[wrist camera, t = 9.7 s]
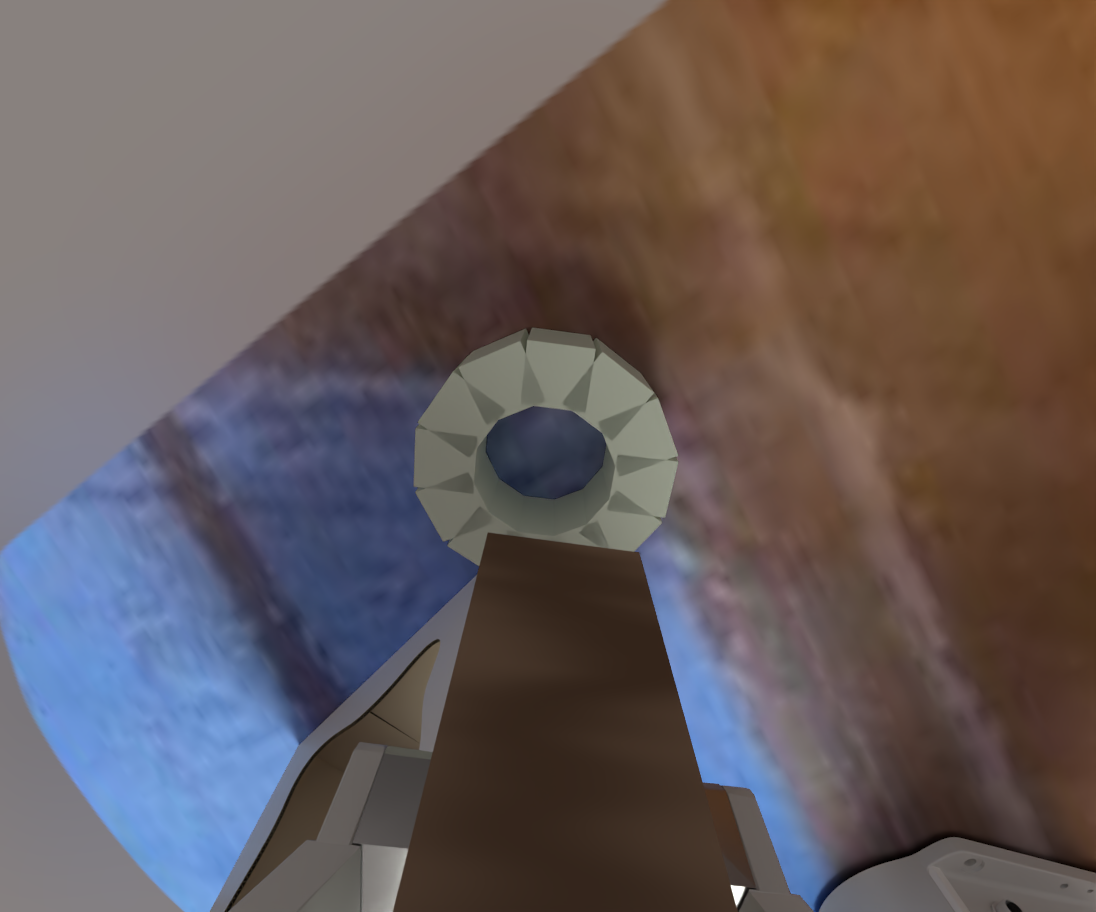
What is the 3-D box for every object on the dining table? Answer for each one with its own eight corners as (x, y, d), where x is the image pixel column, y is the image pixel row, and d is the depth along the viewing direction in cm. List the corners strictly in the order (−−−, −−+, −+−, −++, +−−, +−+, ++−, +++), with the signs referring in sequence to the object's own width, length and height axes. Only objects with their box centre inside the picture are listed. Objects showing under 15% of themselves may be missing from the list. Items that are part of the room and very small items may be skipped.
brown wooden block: (639, 552, 13) (778, 1060, 5) (611, 668, 15) (680, 1211, 6) (487, 532, 13) (365, 1019, 5) (474, 651, 15) (363, 1184, 6)
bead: (681, 347, 25) (702, 363, 21) (635, 552, 29) (646, 595, 26) (439, 315, 25) (418, 325, 21) (430, 528, 29) (411, 567, 25)
